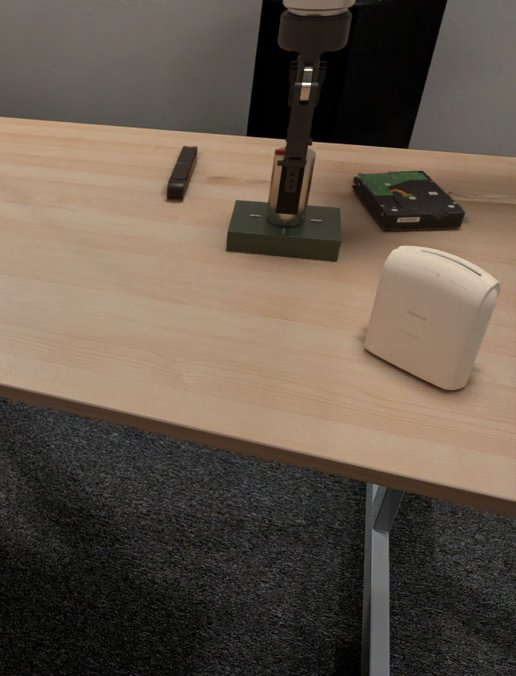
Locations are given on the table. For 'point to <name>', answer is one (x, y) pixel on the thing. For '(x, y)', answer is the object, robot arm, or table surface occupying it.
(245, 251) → the green base plate
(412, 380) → the table surface
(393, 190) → the disk drive
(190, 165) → the black bar
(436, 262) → the photo printer
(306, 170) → the dial
